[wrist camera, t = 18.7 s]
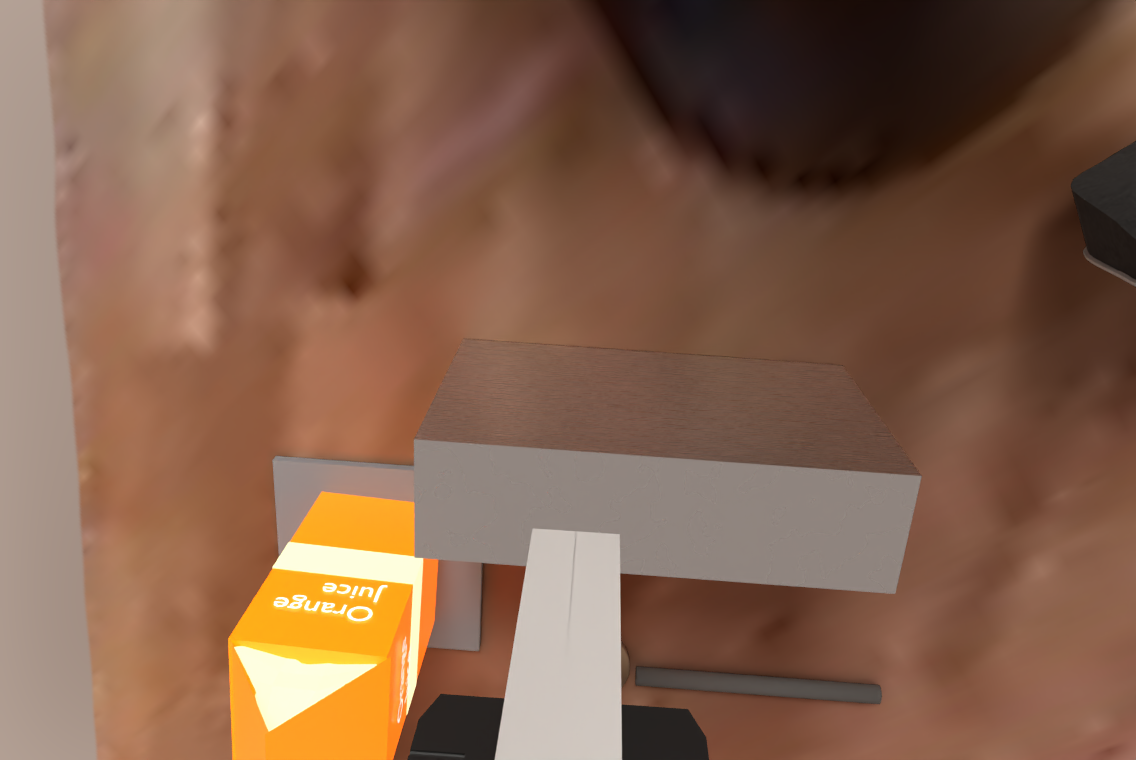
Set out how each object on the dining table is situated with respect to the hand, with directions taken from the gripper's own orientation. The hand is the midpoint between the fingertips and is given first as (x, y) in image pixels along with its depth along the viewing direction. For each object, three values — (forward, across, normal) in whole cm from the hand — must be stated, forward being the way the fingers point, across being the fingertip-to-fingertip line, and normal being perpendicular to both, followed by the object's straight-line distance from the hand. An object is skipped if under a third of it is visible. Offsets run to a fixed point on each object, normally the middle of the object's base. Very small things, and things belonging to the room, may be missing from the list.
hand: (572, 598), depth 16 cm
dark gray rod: (+36, +12, -31) cm, 48 cm away
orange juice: (+35, -13, -23) cm, 44 cm away
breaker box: (+36, +3, -11) cm, 38 cm away
